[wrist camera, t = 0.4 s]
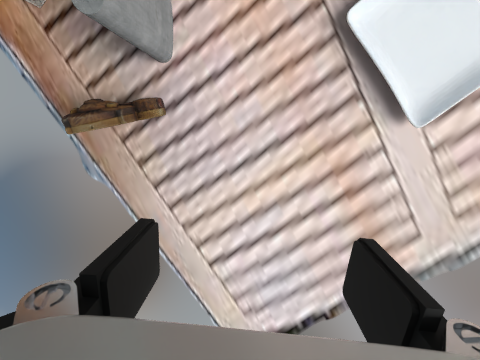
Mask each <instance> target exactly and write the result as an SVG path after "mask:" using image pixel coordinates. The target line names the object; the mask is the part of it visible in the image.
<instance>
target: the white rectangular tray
mask: <svg viewBox="0 0 480 360" xmlns="http://www.w3.org/2000/svg"><path fill="white" fill-rule="evenodd" d="M26 1H27V2H29V3H31V4H33V5H35V6H37V7H39V8H41V7H42V5H43V4H44V2H45V1H46V0H26Z"/></svg>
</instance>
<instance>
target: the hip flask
mask: <svg viewBox="0 0 480 360" xmlns="http://www.w3.org/2000/svg"><path fill="white" fill-rule="evenodd" d="M72 2H73V4H74V6H75V7H76V8H77V9H78V10H79V11H81V12H82V13H84V14H85V15H87V16H88V17H90V18H92V19H93V20H95V21H96V22H98V23H99V24H101V25H103V26H104V27H106V28H107V29H109V30H110V31H112V32H114V33H115V34H117V35H118V36H120V37H121V38H123V39H125V40H126V41H128V42H129V43H131V44H132V45H134V46H136V47H137V48H139V49H140V50H142V51H143V52H145V53H147V54H148V55H150V56H151V57H153V58H154V59H156V60H158V61H159V62H162V63H165V62H168V61H169V60H170V59H171V57H172V50H173V17H172V6H171V0H72Z"/></svg>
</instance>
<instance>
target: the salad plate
mask: <svg viewBox="0 0 480 360" xmlns="http://www.w3.org/2000/svg"><path fill="white" fill-rule="evenodd" d="M346 19H347V23H348V25H349V27H350V28H351V30H352V32H353V33H354V35H355V36H356V38H357V39H358V40H359V42H360V43H361V45H362V46H363V47H364V49H365V50H366V52H367V53H368V54H369V56H370V57H371V59H372V60H373V62H374V63H375V65H376V66H377V68H378V69H379V71H380V72H381V74H382V76H383V77H384V79H385V80H386V82H387V83H388V85H389V87H390V88H391V90H392V92H393V93H394V95H395V97H396V99H397V100H398V102H399V104H400V106H401V108H402V110H403V112H404V113H405V115H406V117H407V119H408V120H409V121H410V123H411V124H412V125H413V126H414V127H416V128H420V127H423V126H425V125H426V124H428V123H429V122H431V121H432V120H434V119H435V118H437V117H438V116H440V115H441V114H443V113H444V112H445V111H447V110H448V109H450V108H451V107H452V106H454V105H455V104H456V103H458V102H459V101H461V100H462V99H464V98H465V97H466V96H468V95H469V94H471V93H472V92H474V91H475V90H476V89H478V88H479V87H480V0H359V1H358V2H357V3H356V4H355V5H354V6H353V7H352V8H351V9H350V10H349V11H348V13H347V16H346Z"/></svg>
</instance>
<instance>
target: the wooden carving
mask: <svg viewBox="0 0 480 360" xmlns="http://www.w3.org/2000/svg"><path fill="white" fill-rule="evenodd" d="M70 113H71V114H68V115H66V116H64V118H63V119H62V123H63V124H64V126H65V130H66V133H67V134H73V133H79V132H85V131H90V130H96V129H101V128H106V127H110V126H115V125H120V124H125V123H130V122H134V121H138V120H144V119H149V118H154V117H158V116H163V115H165V114H166V111H165V107H164V103H163V100H162V99H161V98H145V99H139V100H135V101H133V102H129V103H123V104H118V103H116V102H111V101H103V100H101V99H91V100H87V101H85V102H84V104H83V105H82V106H81V107H80V108H74V109H72V110H71V111H70Z"/></svg>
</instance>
